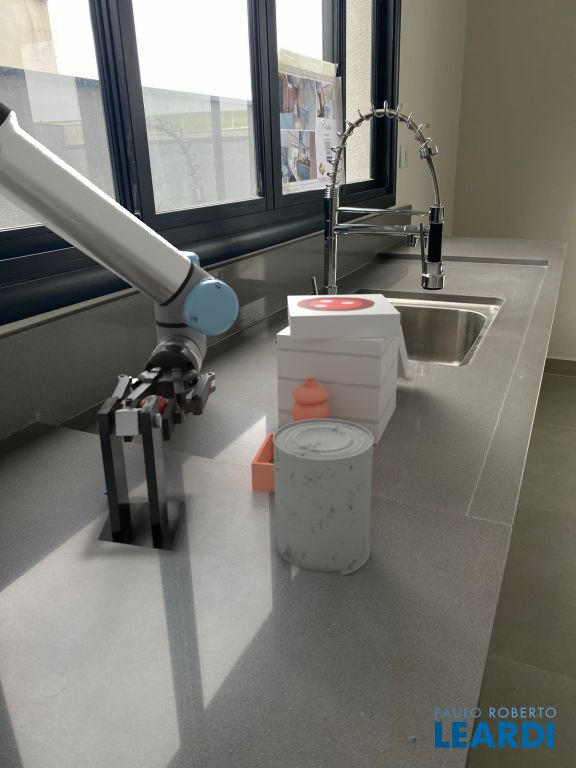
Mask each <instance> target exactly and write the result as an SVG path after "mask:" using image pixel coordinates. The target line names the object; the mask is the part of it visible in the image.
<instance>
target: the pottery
mask: <svg viewBox="0 0 576 768" xmlns="http://www.w3.org/2000/svg"><path fill="white" fill-rule="evenodd" d="M304 381H305V385H302V386H299V387H297V388H296V389H295V390H294V391H293V398H294V399H295V402H294V404H293V405H292V415H293V416H294V418H295V420H294V421H293V422H296V421H300V420H306V419H317V418H322V419H326V418H327V417H328V415H329V412H330V408H329V405H328V403H327V402H326V399H327V398H328V396H329V395H328V391H327V390H326V389H325V388H324V387H322V386H320V385H316V382H317V380H316V379H315V378H306V379H305V380H304ZM274 434H275V432H268V433H267V435H266V437H265V438H264V440H263V441H262V443H261V446H260V447H259V449H258V451H257V452H256V454H255V456H254V458H253V459H252V462H251V463H250V466H251V467H250V469H251V486H252V487H251V490H252V491H257V492H258V491H259V492H269V493H275V480H274V462H271V461H272V460H274V444H273V435H274Z"/></svg>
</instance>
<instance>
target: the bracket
mask: <svg viewBox="0 0 576 768" xmlns="http://www.w3.org/2000/svg"><path fill="white" fill-rule="evenodd" d="M118 410H119V406H118V398H112V397H108V398H106V400H105V402H104V403H103V404H102V406H101V407H100V408H99V410H98V412H97V413H96V418H97V428H98V434H99V443H100V450H101V458H102V459H101V460H102V466H103V475H104V483H105V491H106V499H107V506H108V515H107V517H106V520H105V522H104V524H103V526H102V529H101V531H100V533H99V535H98V537H97V541H101V542H107V543H114V544H122V545H128V546H136V547H142V548H147V549H148V548H149V549H155V550H156V549H157V550H162V551H170V552H175V551H176V547H177V542H178V538H179V533H180V529H181V524H182V520H183V516H184V511H185V507H186V501H185V500H169V501H168V500H167V489H166V477H165V464H164V455H163V445H162V433H161V432H162V430H161V429H162V418H161V414H159V409H158V398H157V397H148V398H147V400H146V402H145V404H144V405H143V407H142V409H141V411H140V421H141V431H142V433H141V440H142V449H143V459H144V460H143V461H144V470H145V480H146V491H147V499H148V500H147V501H143V502H142V501H140V502H130V496H129V488H128V486H129V485H128V478H127V470H126V460H125V451H124V443H123V442H124V441H123V436H116V425H115V411H118Z"/></svg>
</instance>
